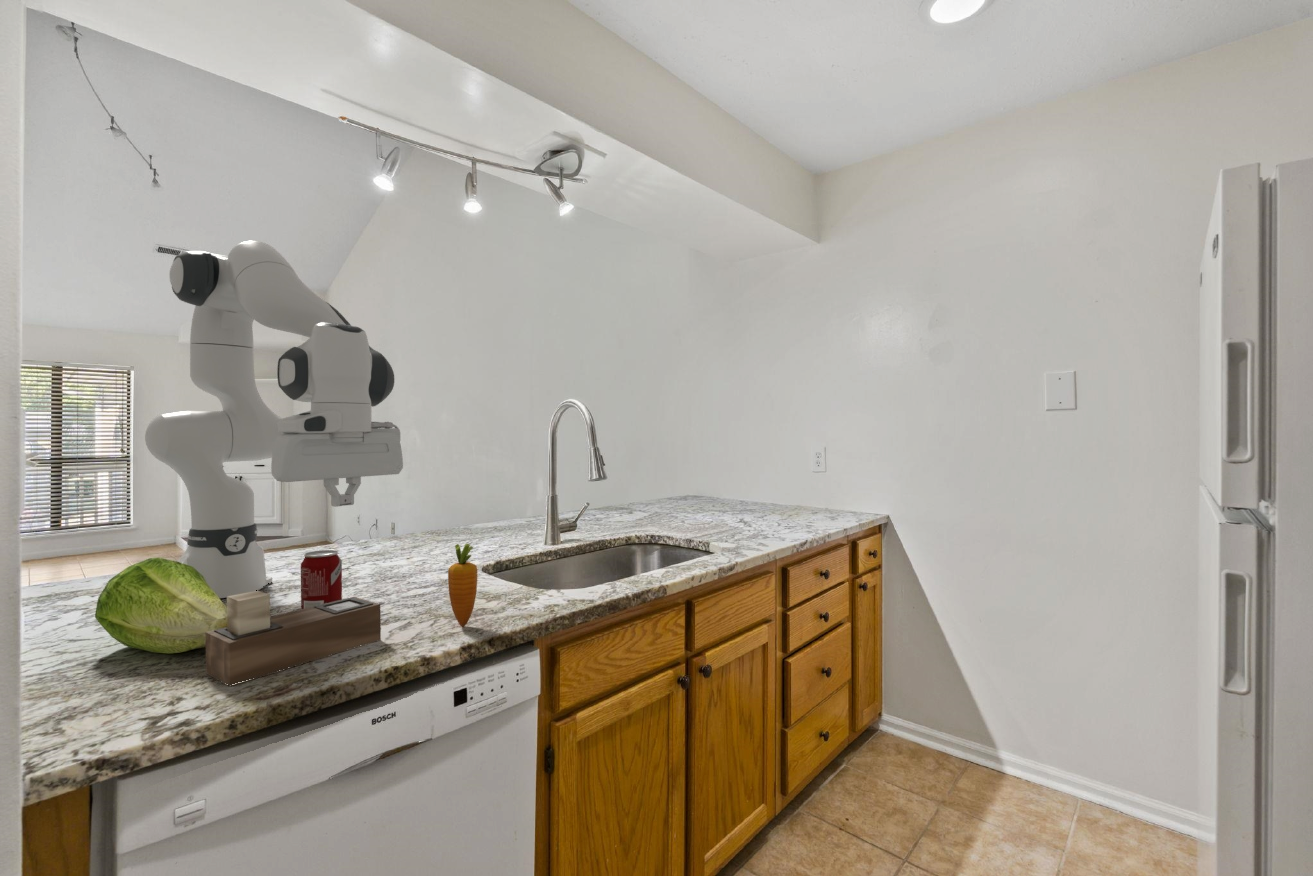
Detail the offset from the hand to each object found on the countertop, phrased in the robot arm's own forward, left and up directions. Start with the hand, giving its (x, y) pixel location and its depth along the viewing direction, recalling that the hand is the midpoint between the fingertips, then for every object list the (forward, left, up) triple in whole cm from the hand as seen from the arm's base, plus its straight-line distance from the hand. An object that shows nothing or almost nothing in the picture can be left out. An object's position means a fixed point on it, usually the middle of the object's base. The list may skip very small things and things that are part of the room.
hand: (342, 505), depth 100 cm
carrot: (+10, +16, -23) cm, 30 cm away
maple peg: (0, -14, -18) cm, 22 cm away
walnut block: (0, -7, -23) cm, 24 cm away
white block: (0, 0, -23) cm, 23 cm away
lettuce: (-18, -17, -23) cm, 34 cm away
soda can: (-17, +5, -23) cm, 29 cm away
